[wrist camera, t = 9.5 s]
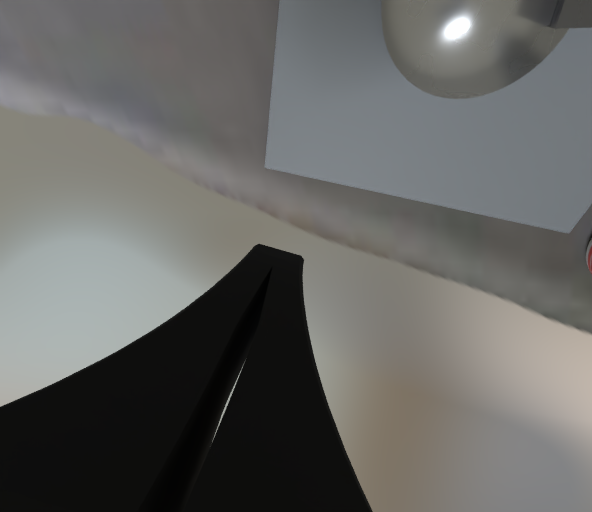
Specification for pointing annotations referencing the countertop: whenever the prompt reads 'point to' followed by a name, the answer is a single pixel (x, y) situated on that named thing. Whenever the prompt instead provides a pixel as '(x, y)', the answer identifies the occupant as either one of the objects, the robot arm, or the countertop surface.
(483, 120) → the board
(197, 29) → the countertop surface
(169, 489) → the robot arm
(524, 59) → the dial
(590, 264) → the pill bottle
